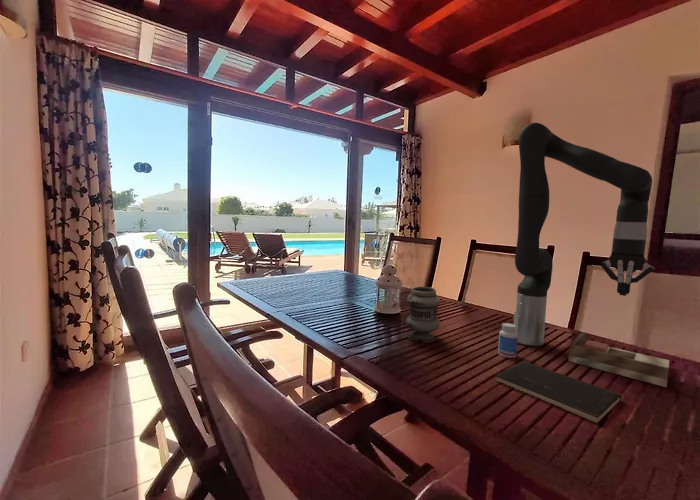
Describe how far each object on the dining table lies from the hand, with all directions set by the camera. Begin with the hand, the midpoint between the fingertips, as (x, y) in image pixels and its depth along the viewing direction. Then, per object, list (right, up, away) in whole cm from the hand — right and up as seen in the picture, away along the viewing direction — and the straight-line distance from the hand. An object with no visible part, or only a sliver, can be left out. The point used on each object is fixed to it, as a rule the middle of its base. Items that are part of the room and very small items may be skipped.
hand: (623, 295), depth 100 cm
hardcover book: (-30, -23, -16) cm, 41 cm away
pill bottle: (-32, -20, +6) cm, 38 cm away
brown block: (-8, -19, +1) cm, 20 cm away
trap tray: (-1, -21, +1) cm, 21 cm away
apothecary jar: (-56, -18, +20) cm, 63 cm away
